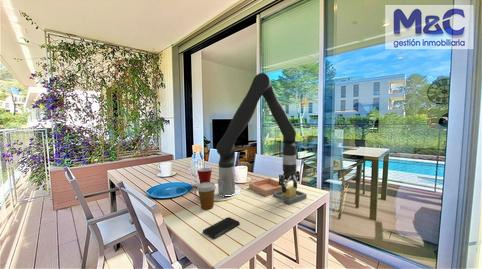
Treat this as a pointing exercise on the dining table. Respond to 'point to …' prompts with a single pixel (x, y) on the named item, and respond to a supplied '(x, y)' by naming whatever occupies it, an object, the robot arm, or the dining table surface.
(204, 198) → the disposable coffee cup
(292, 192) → the ochre cube
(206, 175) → the plastic cup
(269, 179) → the terracotta dish
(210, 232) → the phone
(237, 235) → the dining table surface
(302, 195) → the charcoal tray
